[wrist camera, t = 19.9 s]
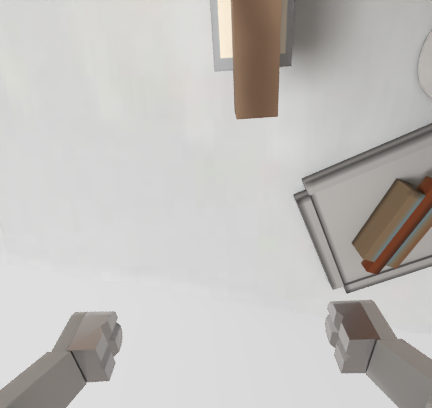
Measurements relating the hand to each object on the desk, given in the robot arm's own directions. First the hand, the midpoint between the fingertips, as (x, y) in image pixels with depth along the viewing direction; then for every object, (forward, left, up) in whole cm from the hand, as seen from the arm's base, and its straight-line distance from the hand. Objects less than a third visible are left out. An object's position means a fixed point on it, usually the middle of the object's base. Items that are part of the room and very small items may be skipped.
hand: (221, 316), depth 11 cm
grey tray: (-32, +22, -42) cm, 57 cm away
